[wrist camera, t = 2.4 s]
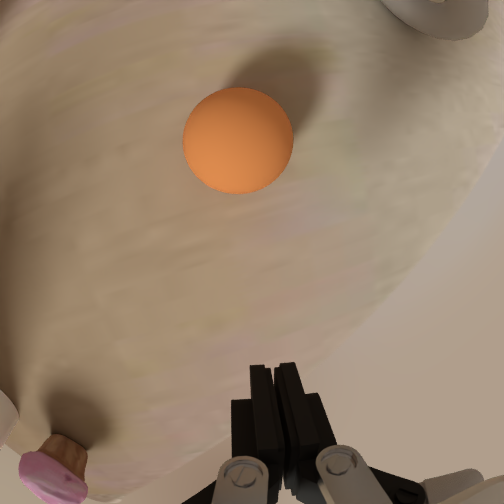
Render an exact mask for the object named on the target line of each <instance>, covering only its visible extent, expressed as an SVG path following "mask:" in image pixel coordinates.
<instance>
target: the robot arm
mask: <svg viewBox="0 0 504 504" xmlns="http://www.w3.org/2000/svg"><path fill="white" fill-rule="evenodd" d="M250 386H251V399H240V400H231V434H232V458H231V459H229V460H227V461H226V462H225V463H224V464H223V465H222V466H221V467H220V470H219V472H218V477H217V480H215V481H214V482H213V483H211V484H210V485H208V486H207V487H206V488H204V489H203V490H201V491H200V492H198V493H197V494H196V495H194V496H192V497H191V498H189V499H188V500H186V501H185V502H183V503H182V504H276V503H277V502H278V493H279V490H281V485H282V477H283V479H284V485H285V489H291V492H292V496H294V495H296V499H297V500H299V501H300V502H302V503H304V504H504V475H501V476H497V477H493V478H490V479H488V480H485V481H484V478H483V476H482V474H481V473H480V472H479V471H477V470H475V469H465V470H462V471H458V472H455V473H451V474H447V475H443V476H439V477H434V478H430V479H425V480H424V481H423V482H420V483H416V482H414V481H411V480H408V479H405V478H401V477H398V476H395V475H392V474H389V473H386V472H383V471H380V470H378V469H375V468H372V467H369V466H367V464H366V462H365V461H364V459H363V458H362V456H361V455H360V454H359V452H358V451H357V450H355V449H354V448H352V447H349V446H346V445H337V442H336V439H335V437H334V434H333V431H332V429H331V426H330V423H329V421H328V418H327V415H326V412H325V410H324V407H323V404H322V402H321V399H320V396H319V394H318V393H310V394H305V393H304V389H303V387H302V383H301V380H300V377H299V374H298V370H297V367H296V364H295V362H290V363H280V365H279V367H275V368H274V384H273V379H272V374H271V369H270V368H265V365H250Z"/></svg>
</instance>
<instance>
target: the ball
mask: <svg viewBox="0 0 504 504" xmlns="http://www.w3.org/2000/svg"><path fill="white" fill-rule="evenodd" d="M292 148H293V131H292V127H291V124H290V121H289V118H288V117H287V115H286V113H285V111H284V110H283V109H282V107H281V106H280V105H279V104H278V103H277V102H276V101H275V100H273V99H272V98H271V97H269V96H268V95H266V94H264V93H262V92H260V91H257V90H254V89H249V88H241V87H236V88H228V89H223V90H220V91H217V92H215V93H213V94H211V95H209V96H208V97H206V98H205V99H203V100H202V101H201V102H200V103H199V104H198V105H197V106H196V107H195V108H194V110H193V111H192V113H191V114H190V116H189V118H188V120H187V122H186V125H185V128H184V133H183V150H184V154H185V158H186V160H187V163H188V165H189V166H190V168H191V170H192V171H193V172H194V174H195V175H196V176H197V177H198V178H199V179H200V180H201V181H202V182H204V183H205V184H206V185H208V186H210V187H211V188H213V189H216V190H218V191H221V192H225V193H231V194H244V193H250V192H254V191H257V190H260V189H262V188H264V187H266V186H268V185H269V184H270V183H272V182H273V181H274V180H275V179H277V178H278V177H279V176H280V174H281V173H282V172H283V171H284V169H285V167H286V166H287V164H288V162H289V160H290V157H291V153H292Z"/></svg>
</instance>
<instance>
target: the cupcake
mask: <svg viewBox="0 0 504 504" xmlns="http://www.w3.org/2000/svg"><path fill="white" fill-rule="evenodd" d="M87 458H88V456H87V452H86V450H85V449H84V448H83V447H82V446H80V445H79V444H77V443H76V442H74V441H72V440H71V439H69V438H67V437H65V436H64V435H59V434H53V435H51V436H50V437H49V438H48V439H47V440H46V441H45V442H44V443H43V445H42V446H41V447H40V448H39V449H38V450H37V451H36V452H31V451H30V452H28V453H25V454H23V455H22V457H21V460H20V463H19V476H20V479H21V480H22V482H23V483H24V484H25V486H26V487H28V488H29V489H30V490H31V491H32V492H33V493H34V494H35V495H36V496H37V497H39V498H40V499H42V500H43V501H45V502H46V503H48V504H80V503H81V502H83V501H84V500H85V498H86V496H87V493H88V486H87V485H86V483H85V482H84V481H85V478H84V472H85V467H86V463H87Z"/></svg>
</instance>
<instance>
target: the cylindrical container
mask: <svg viewBox="0 0 504 504" xmlns="http://www.w3.org/2000/svg"><path fill="white" fill-rule="evenodd" d="M18 420H19V414H18V411H17V409H16V407H15V406H14V404H13V403H12V402H11V400H10V399H9V398H8V397H7V396H6V395H5V394H4V393H3V392H2V391H1V390H0V450H1V448H2V446H3V445H4V443H5V441H6V440H7V438H8V436H9V435H10V433H11V431H12V430H13V428H14V426H15V425H16V423H17V422H18Z"/></svg>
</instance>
